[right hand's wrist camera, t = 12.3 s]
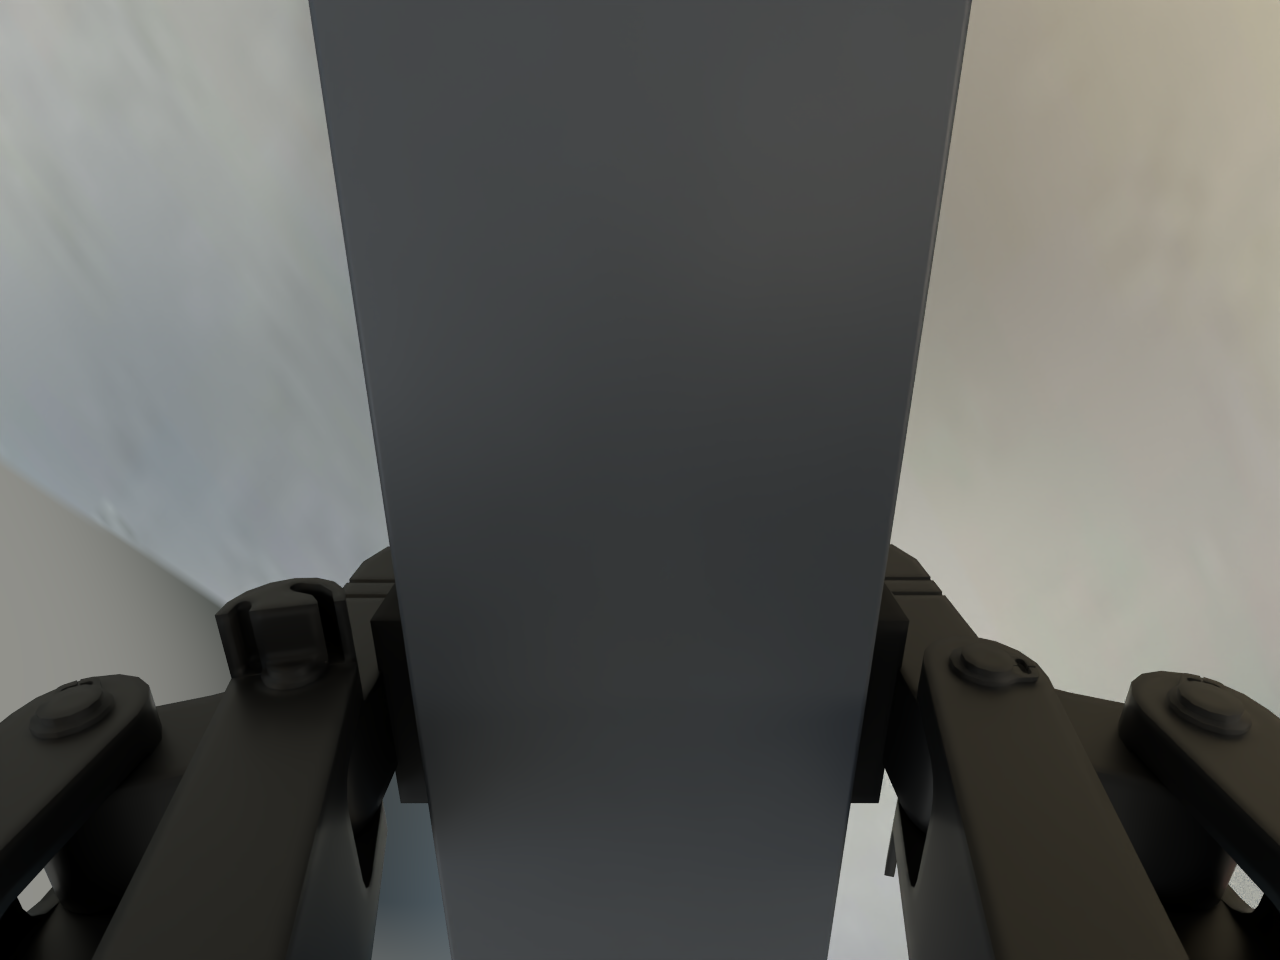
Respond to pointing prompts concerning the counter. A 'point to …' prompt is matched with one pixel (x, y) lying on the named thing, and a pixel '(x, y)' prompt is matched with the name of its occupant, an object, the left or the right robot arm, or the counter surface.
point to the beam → (639, 435)
